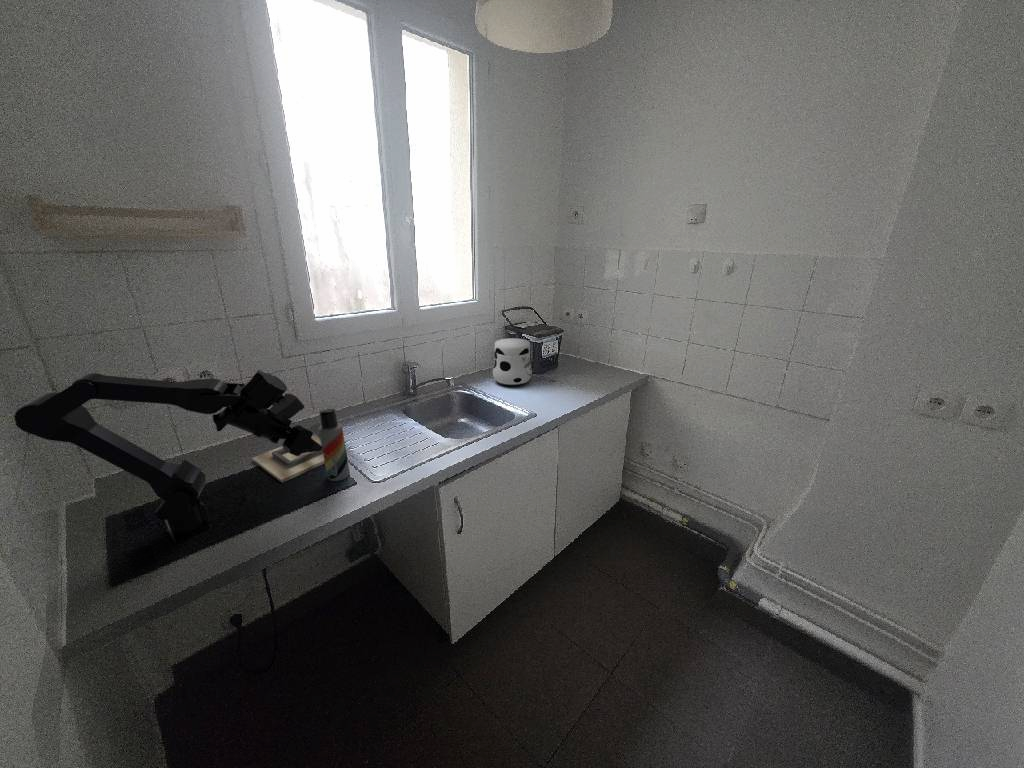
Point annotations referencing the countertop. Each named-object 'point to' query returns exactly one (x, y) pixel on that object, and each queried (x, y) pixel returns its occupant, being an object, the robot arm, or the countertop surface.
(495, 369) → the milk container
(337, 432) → the lotion bottle
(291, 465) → the port board
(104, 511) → the countertop surface
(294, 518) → the countertop surface
